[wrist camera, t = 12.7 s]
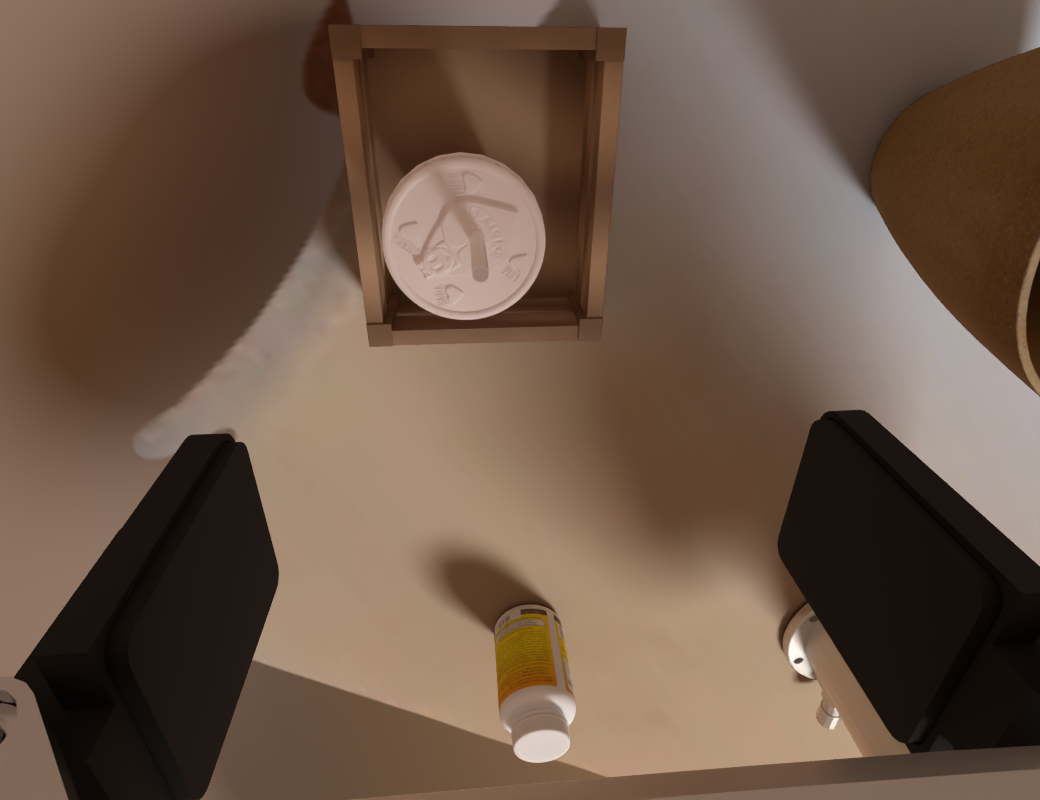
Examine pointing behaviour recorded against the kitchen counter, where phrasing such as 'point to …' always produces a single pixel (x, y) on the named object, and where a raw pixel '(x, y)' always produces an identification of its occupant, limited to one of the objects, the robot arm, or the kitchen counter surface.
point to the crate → (495, 134)
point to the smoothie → (463, 236)
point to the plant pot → (973, 203)
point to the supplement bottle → (534, 682)
